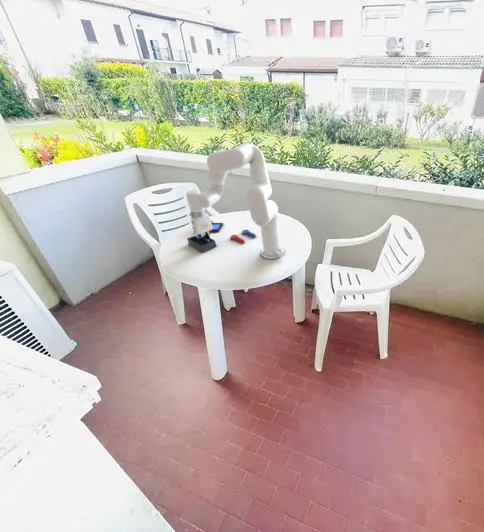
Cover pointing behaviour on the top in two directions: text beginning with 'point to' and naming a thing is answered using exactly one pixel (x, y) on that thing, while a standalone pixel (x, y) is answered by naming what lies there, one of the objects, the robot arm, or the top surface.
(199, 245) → the bin
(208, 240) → the blue spoon
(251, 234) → the blue spoon
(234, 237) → the red spoon
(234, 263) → the top surface
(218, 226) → the handheld console
